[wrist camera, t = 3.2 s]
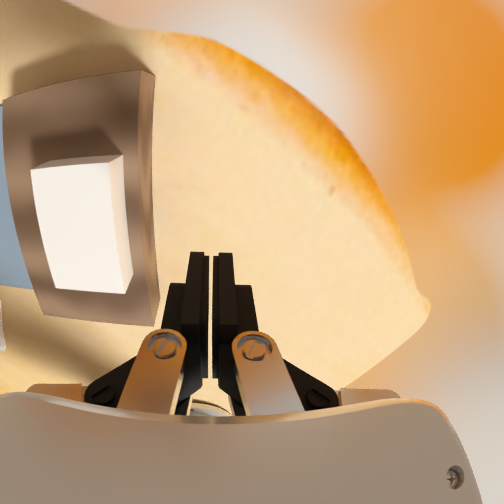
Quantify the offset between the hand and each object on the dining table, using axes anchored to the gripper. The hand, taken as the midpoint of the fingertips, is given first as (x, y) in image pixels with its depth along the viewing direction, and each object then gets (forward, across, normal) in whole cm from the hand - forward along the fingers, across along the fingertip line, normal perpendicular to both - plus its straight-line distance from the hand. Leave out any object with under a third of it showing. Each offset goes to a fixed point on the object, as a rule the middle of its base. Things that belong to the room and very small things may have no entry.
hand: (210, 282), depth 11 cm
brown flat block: (+12, +11, +1) cm, 16 cm away
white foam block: (+8, +9, +1) cm, 12 cm away
